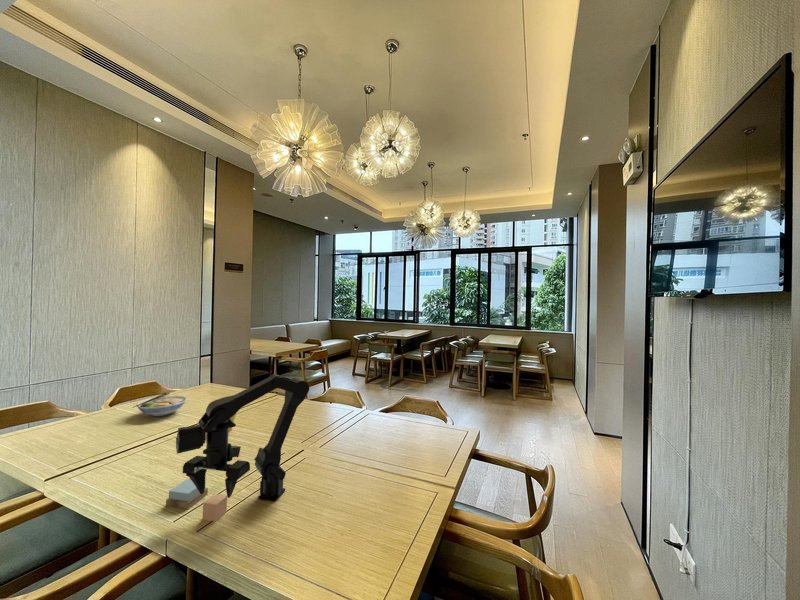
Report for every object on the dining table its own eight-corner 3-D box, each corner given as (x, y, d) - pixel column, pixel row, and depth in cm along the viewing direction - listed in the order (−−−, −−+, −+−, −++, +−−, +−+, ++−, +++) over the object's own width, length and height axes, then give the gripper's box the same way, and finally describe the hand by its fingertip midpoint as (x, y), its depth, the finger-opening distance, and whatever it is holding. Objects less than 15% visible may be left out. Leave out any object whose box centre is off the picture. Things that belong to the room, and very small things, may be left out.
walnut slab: (207, 495, 107) (207, 488, 107) (188, 510, 99) (188, 502, 99) (186, 492, 109) (186, 485, 109) (165, 507, 101) (166, 499, 101)
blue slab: (205, 489, 107) (205, 481, 107) (188, 501, 100) (188, 493, 100) (186, 486, 108) (187, 479, 108) (168, 498, 101) (169, 490, 101)
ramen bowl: (165, 423, 166) (166, 407, 166) (122, 421, 167) (122, 406, 167) (196, 407, 191) (197, 393, 191) (159, 406, 192) (159, 392, 192)
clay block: (226, 512, 99) (227, 495, 99) (215, 521, 94) (216, 504, 94) (213, 510, 99) (214, 493, 99) (202, 519, 95) (203, 502, 95)
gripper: (261, 435, 104) (259, 483, 103) (209, 430, 107) (208, 477, 106) (238, 451, 93) (237, 505, 92) (181, 445, 95) (180, 497, 95)
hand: (215, 495), depth 97 cm, fingers open, 9 cm apart
